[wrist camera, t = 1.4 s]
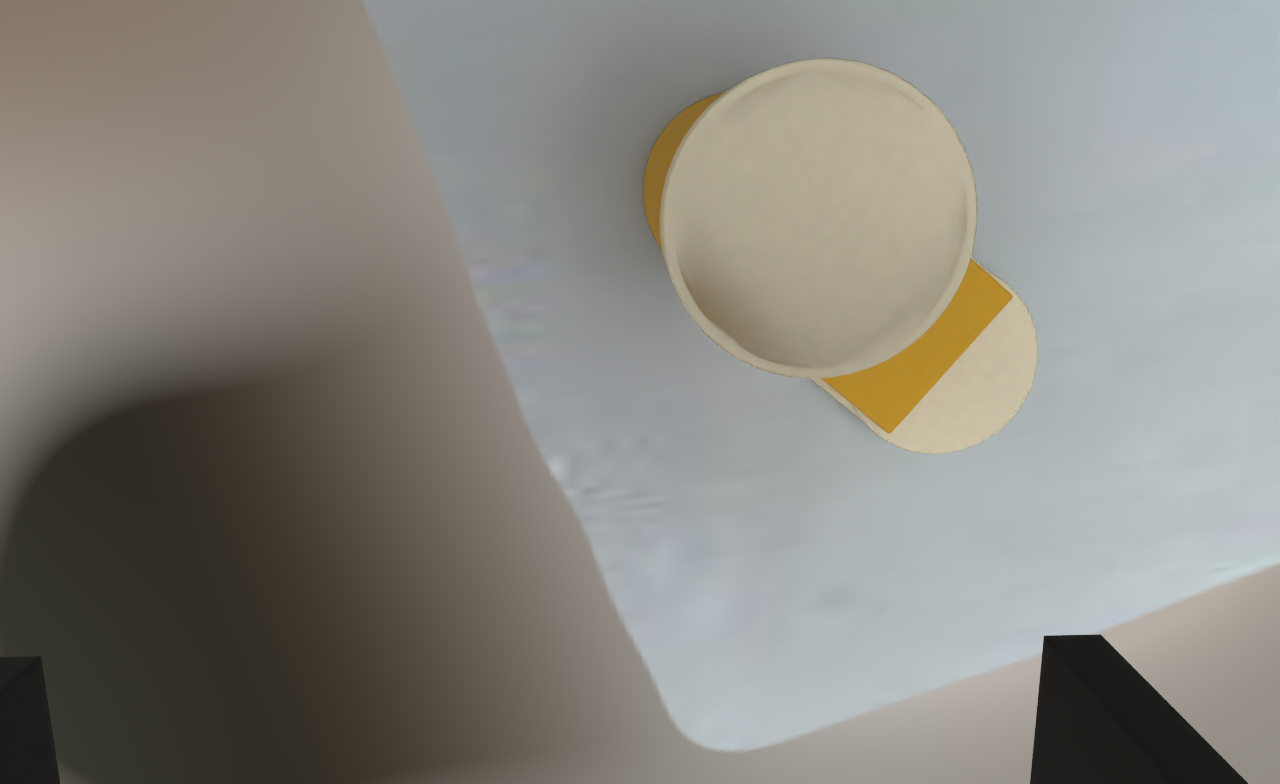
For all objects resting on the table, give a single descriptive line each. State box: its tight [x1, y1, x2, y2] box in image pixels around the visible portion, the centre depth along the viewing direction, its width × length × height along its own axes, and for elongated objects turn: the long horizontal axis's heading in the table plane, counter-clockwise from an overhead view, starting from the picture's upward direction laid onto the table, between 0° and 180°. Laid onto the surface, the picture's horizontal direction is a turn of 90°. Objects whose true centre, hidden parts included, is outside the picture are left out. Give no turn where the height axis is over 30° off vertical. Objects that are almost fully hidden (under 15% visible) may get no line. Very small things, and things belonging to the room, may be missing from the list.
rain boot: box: [643, 58, 1038, 454], centre depth 31 cm, size 16×7×14 cm, turn 50°
